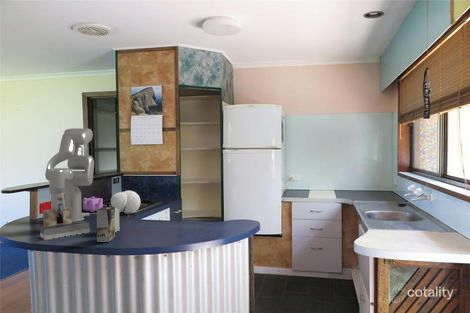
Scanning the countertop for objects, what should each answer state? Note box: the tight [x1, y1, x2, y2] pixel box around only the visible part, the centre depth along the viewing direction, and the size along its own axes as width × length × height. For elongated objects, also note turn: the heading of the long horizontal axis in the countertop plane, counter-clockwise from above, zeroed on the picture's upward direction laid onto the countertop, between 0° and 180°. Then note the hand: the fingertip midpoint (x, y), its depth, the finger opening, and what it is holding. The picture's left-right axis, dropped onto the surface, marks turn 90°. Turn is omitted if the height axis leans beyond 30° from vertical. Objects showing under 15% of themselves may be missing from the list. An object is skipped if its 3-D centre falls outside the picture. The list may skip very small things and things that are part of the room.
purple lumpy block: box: [82, 196, 104, 213], centre depth 246 cm, size 15×13×11 cm
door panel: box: [42, 207, 73, 227], centre depth 188 cm, size 14×3×12 cm, turn 133°
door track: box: [39, 220, 91, 241], centre depth 178 cm, size 22×9×5 cm, turn 133°
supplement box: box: [115, 209, 121, 233], centre depth 182 cm, size 7×7×13 cm
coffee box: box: [96, 206, 116, 243], centre depth 165 cm, size 9×6×16 cm
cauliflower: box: [110, 190, 141, 215], centre depth 234 cm, size 20×18×16 cm
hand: (57, 222), depth 188 cm, fingers open, 7 cm apart
